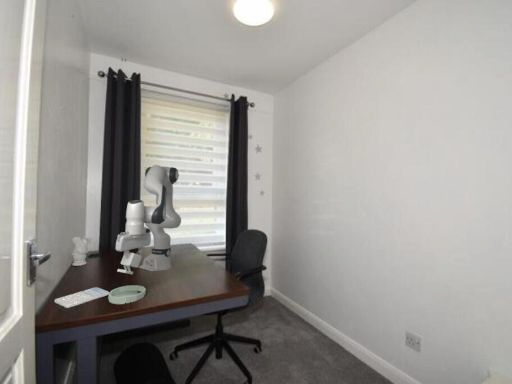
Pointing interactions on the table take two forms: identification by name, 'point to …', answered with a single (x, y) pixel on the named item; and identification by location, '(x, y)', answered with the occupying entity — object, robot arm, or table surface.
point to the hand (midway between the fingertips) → (133, 256)
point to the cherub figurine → (80, 250)
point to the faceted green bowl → (126, 294)
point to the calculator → (81, 297)
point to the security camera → (130, 262)
